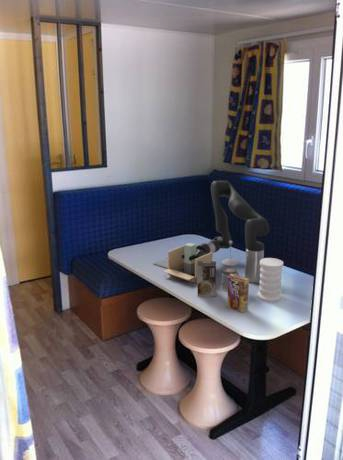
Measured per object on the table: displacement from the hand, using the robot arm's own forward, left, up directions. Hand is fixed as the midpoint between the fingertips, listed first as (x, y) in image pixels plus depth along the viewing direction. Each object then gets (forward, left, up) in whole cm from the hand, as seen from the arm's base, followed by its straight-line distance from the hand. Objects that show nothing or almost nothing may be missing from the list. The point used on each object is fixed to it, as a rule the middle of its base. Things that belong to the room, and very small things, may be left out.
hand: (185, 257), depth 236 cm
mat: (+20, -8, -11) cm, 24 cm away
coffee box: (-22, +10, -11) cm, 27 cm away
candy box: (-42, +13, -11) cm, 45 cm away
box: (0, -4, -9) cm, 10 cm away
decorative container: (-47, -7, -11) cm, 49 cm away
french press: (-27, -3, -11) cm, 29 cm away
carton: (0, -4, -11) cm, 11 cm away
